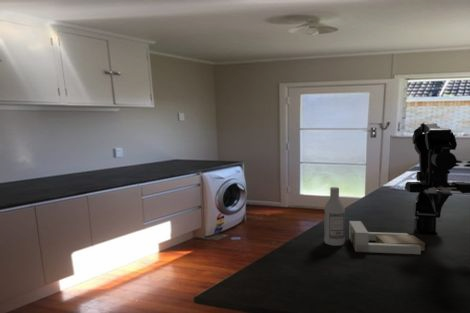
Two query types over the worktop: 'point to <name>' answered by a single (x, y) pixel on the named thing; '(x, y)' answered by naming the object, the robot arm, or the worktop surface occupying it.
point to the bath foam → (334, 219)
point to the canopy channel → (362, 238)
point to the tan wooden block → (400, 240)
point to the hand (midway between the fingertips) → (436, 212)
